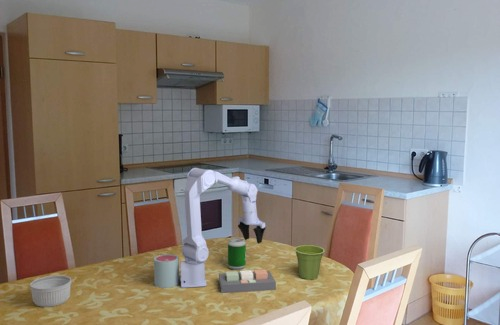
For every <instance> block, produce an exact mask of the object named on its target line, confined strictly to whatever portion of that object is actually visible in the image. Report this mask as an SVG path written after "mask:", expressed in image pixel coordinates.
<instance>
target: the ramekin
mask: <svg viewBox="0 0 500 325" xmlns="http://www.w3.org/2000/svg"><path fill="white" fill-rule="evenodd" d="M71 285H72V278H71V277H70V276H67V275H61V274H59V275H56V274H55V275H47V276H43V277H39V278H36V279H34V280H32V282H30V284H29V289H30V293H31V298H32V301H33V303H34V304H35V306H37V307H42V308H43V307H44V308H47V307H49V308H50V307H55V306H58V305H59V306H60V305H62V304H64V303H66V302H67V301H68V299H69V298H70V296H71Z"/></svg>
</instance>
